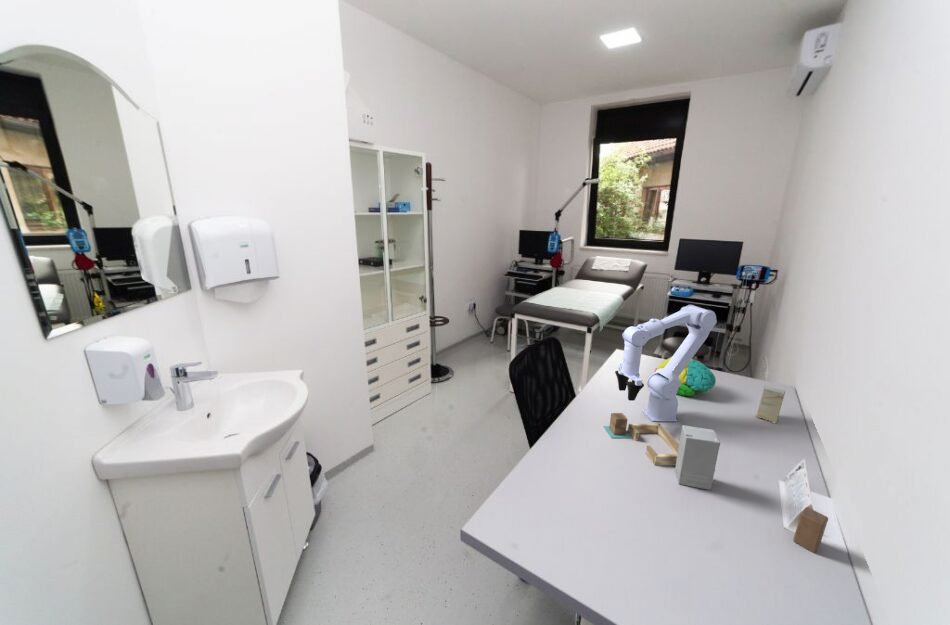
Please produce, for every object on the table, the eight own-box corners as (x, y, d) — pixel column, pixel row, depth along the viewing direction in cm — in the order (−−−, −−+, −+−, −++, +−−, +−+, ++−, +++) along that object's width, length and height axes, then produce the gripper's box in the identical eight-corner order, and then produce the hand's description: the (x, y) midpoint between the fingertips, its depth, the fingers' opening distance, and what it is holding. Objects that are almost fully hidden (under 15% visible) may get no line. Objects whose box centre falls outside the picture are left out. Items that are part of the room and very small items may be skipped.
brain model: (720, 393, 157) (724, 360, 154) (702, 406, 146) (706, 371, 143) (664, 377, 175) (667, 347, 172) (644, 387, 164) (647, 355, 161)
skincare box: (705, 476, 106) (715, 428, 102) (711, 493, 99) (723, 442, 96) (672, 469, 109) (681, 422, 105) (677, 485, 102) (686, 435, 98)
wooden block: (792, 541, 85) (800, 513, 83) (797, 533, 87) (806, 505, 85) (814, 554, 82) (824, 525, 80) (819, 545, 84) (829, 517, 82)
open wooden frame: (658, 431, 128) (659, 423, 128) (689, 464, 111) (691, 456, 110) (627, 431, 128) (628, 423, 127) (654, 465, 110) (656, 456, 110)
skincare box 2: (755, 417, 139) (763, 388, 136) (757, 413, 142) (764, 384, 139) (776, 424, 135) (784, 394, 132) (778, 419, 138) (785, 390, 135)
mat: (622, 426, 131) (622, 425, 131) (631, 438, 124) (631, 437, 124) (603, 426, 130) (603, 426, 130) (611, 438, 124) (611, 437, 124)
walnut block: (620, 428, 129) (622, 413, 128) (625, 434, 125) (627, 419, 124) (609, 428, 129) (611, 413, 127) (613, 434, 125) (616, 419, 124)
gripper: (612, 352, 137) (607, 386, 140) (629, 368, 123) (624, 404, 126) (630, 352, 137) (625, 386, 140) (650, 368, 123) (644, 404, 126)
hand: (626, 395), depth 133 cm, fingers open, 7 cm apart
